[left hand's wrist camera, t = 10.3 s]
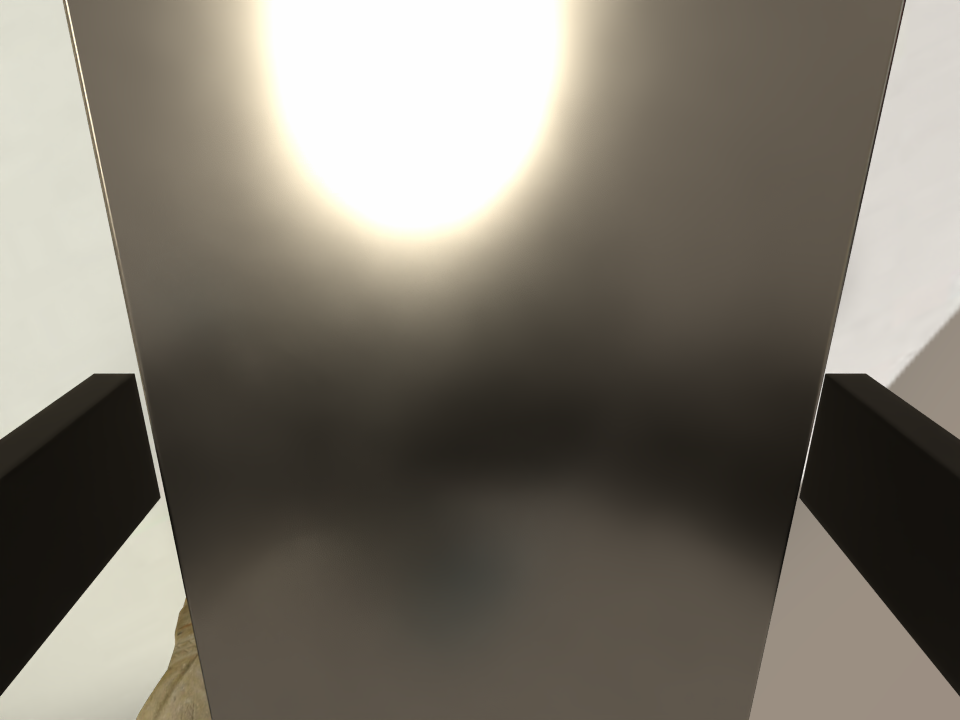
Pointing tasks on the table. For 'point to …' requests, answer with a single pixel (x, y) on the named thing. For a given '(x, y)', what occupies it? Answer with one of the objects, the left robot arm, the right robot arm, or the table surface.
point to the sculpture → (180, 681)
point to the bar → (482, 333)
